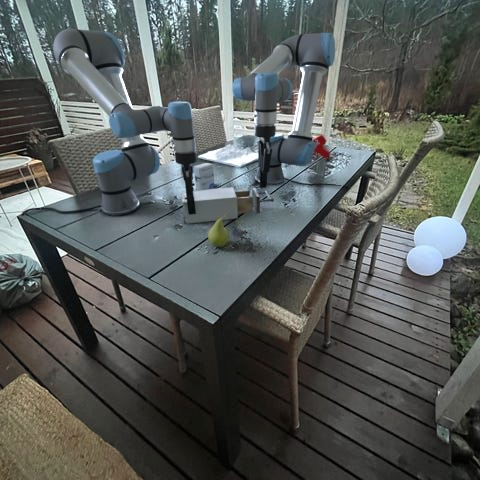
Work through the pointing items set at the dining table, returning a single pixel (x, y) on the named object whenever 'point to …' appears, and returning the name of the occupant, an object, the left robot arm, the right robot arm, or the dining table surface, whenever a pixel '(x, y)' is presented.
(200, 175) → the ink box
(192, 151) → the left robot arm
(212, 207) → the cabinet
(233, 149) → the relief map
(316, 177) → the dining table surface
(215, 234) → the fruit
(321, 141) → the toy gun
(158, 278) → the dining table surface
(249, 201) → the drawer
